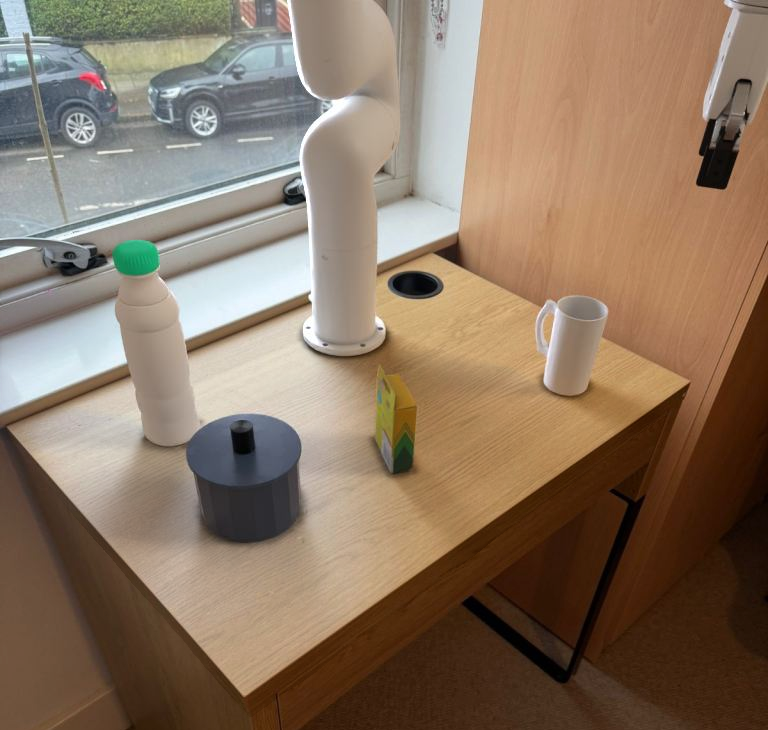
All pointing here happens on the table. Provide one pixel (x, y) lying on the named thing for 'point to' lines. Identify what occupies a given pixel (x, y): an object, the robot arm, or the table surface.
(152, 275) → the water bottle
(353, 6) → the robot arm
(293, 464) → the pot lid
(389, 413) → the crayon box
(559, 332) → the mug
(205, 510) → the pot
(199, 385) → the table surface
